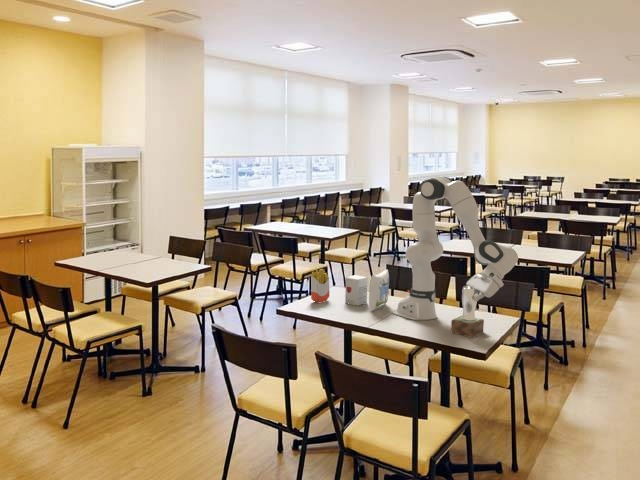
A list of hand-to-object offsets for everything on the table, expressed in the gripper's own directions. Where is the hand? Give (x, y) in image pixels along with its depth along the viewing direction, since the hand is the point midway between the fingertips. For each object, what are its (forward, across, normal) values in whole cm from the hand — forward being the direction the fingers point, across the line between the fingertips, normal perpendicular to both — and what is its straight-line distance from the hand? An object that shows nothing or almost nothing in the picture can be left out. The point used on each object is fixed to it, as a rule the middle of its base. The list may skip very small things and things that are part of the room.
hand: (469, 298), depth 267 cm
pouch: (+32, -49, -9) cm, 59 cm away
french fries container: (+52, -67, -29) cm, 90 cm away
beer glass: (+7, 0, +7) cm, 10 cm away
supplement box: (+39, -60, -15) cm, 73 cm away
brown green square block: (+12, 0, +11) cm, 16 cm away
